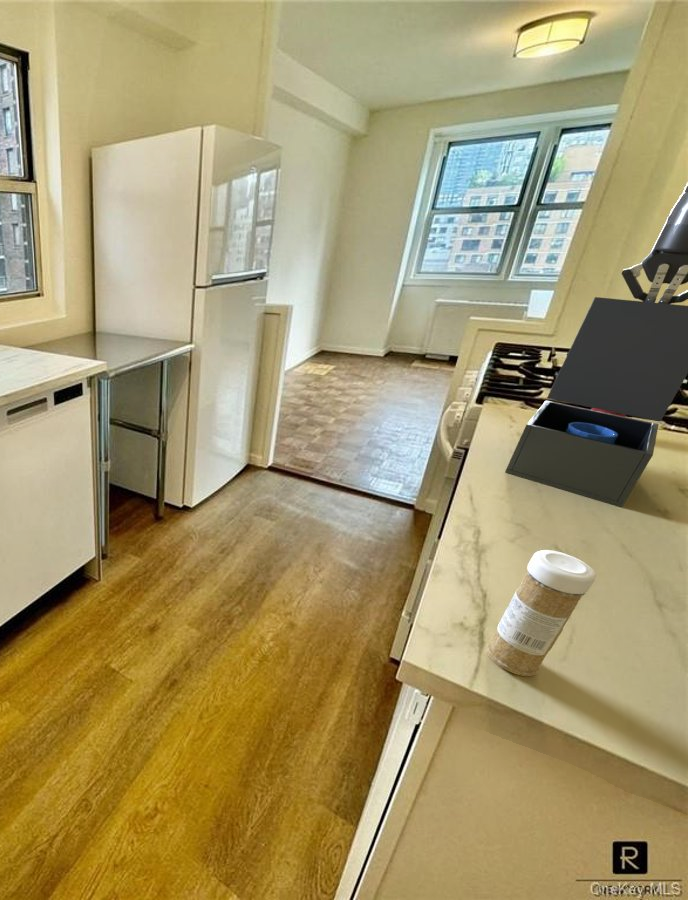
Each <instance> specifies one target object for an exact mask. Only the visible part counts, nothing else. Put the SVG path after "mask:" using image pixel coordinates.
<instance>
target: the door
mask: <svg viewBox="0 0 688 900" xmlns="http://www.w3.org/2000/svg"><path fill="white" fill-rule="evenodd" d="M687 375H688V305H684V304H675V303H672V304H664V303H658V302H655V303H653V302H643V301H642V300H630V299H620V298H610V297H609V298H607V297H599V296H595V297H594V298H593V299H592V303H591V304H590V307H589V308H588V311H587V313H586V315H585V317H584V319H583V321H582V323H581V324H580V328H579V329H578V332H577V334H576V335H575V338H574V340H573V342H572V344H571V346H570V348H569V350H568V353H567V355H566V357H565V358H564V361H563V362H562V365H561V367H560V369H559V371H558V373H557V376H556V378H555V380H554V382H553V384H552V386H551V389H550V390H549V393H548V395H547V397H546V399H549V400H553V401H558V402H563V403H567V404H573V405H578V406H582V407H587V408H590V409H592V408H596V409H601V410H606V411H611V412H616V413H620V414H625V416H631V417H634V418H640V419H645V420H650V421H655V422H659V423H660V422H661V421H662V420H663V418H664V416H665V415H666V413H667V411H668V409H669V408H670V405H671V404H672V402H673V401H674V399H675V396H676V395H677V393H678V391H679V390H680V388H681V386H682V384H683V383H684V381H685V379H686V378H687Z"/></svg>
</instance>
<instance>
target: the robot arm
mask: <svg viewBox="0 0 688 900" xmlns="http://www.w3.org/2000/svg"><path fill="white" fill-rule="evenodd" d="M641 270H643V271H644V273H645V276H646V278H647V280H648V281H649V282H650V283H651V286H650V288H649V291H648V292H646V291H644V290H643V288H642V286H641V284H640V282H639V280H638V277H640V276H641V272H642V271H641ZM621 275H622V277H623V279H624V282H625V283H626V286H627V287H628V289H629V291H630V293H631V295H632V297H633V298H634V299H636V300H638V301H642V302H653V303H656V301H657V297H658V295H659V292H660V290H661V288H662V285H664V284H667V287H666V289H665V290H664V292H663V293H662V295H661V297H660V298H659V300H658V302H657V303H664V304H677V303H678V304H680V303H684V302H685V301H688V289H687V290H685V291H683V292H682V293H680V294H676V292H677V290H678V288H679V287H680V286H681V285H685V284H688V182H687V183H686V186H685V187H684V190H683V192H682V194H681V195H680V196H679V197H678V200H677V201H676V203H675V204H674V206H673V208H672V209H671V211H670V213H669V215H668V216H667V218H666V221H665V223H664V226H663V227H662V228H661V232H660V233H659V235H658V238H657V239H656V240H655V243H654V246H653V247H652V249H651V252H650V253H649V254H648V255H647V256H646V257H645V258H643V260H642V261H641V263H639V264H636V265H633V266H632V267H629V268H628V267H627V268H624V269H623V270H622V272H621Z"/></svg>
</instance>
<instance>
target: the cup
mask: <svg viewBox="0 0 688 900" xmlns="http://www.w3.org/2000/svg"><path fill="white" fill-rule="evenodd" d="M565 433H570V434H574V435H578V436H582V437H586V438H591V439H595V440H599V441H603V442H607V443H611V444H614V442H615V440H616V438H617V436H618V434H617V433H616V432H615V431H613V430H611V429H608V428H605V427H602V426H599V425H595V424H589V423H582V422H572V423H569V424H568V426H567V428H566V430H565Z"/></svg>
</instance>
